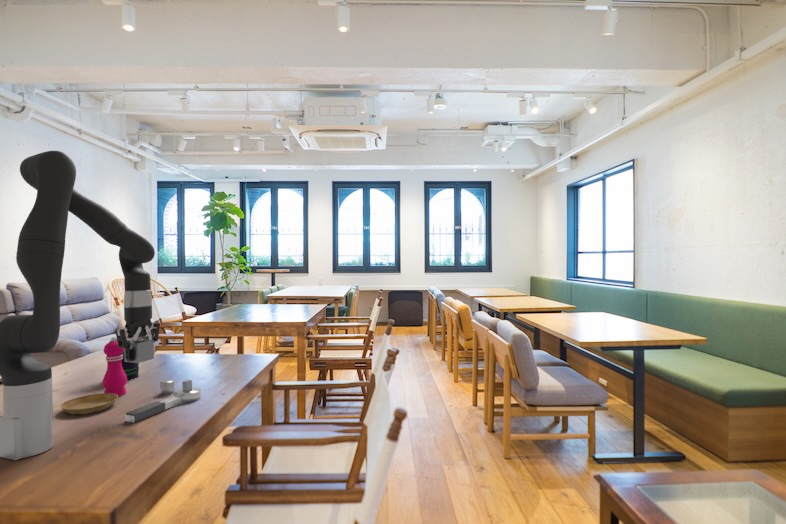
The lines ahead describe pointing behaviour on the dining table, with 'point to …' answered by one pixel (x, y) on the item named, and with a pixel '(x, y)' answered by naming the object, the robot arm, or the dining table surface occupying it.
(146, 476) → the dining table surface
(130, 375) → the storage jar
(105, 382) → the pepper mill
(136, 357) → the socket
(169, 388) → the socket
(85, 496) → the dining table surface
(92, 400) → the plant saucer
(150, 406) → the ratchet
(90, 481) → the dining table surface
